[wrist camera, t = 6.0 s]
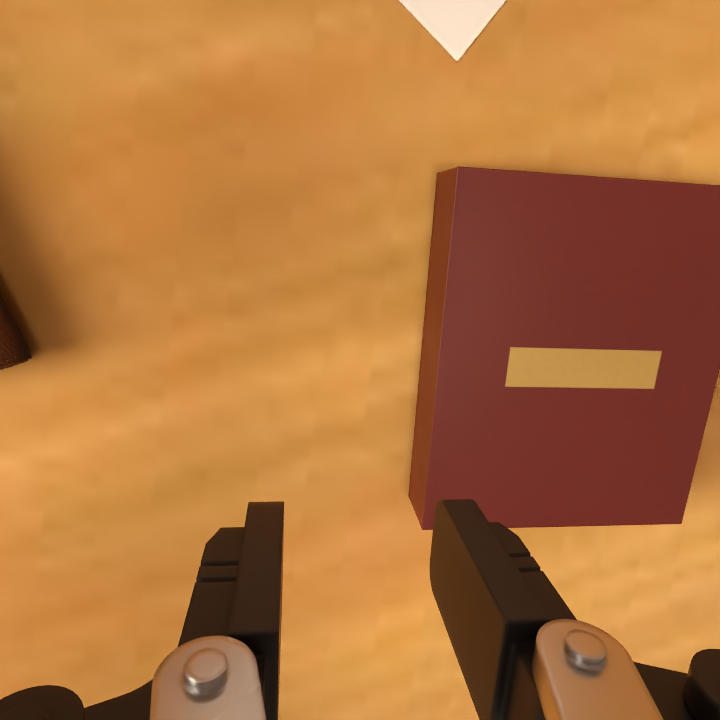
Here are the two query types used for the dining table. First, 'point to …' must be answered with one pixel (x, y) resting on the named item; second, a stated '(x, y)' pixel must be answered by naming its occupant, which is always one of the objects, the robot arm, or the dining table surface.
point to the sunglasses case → (11, 341)
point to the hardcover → (566, 347)
